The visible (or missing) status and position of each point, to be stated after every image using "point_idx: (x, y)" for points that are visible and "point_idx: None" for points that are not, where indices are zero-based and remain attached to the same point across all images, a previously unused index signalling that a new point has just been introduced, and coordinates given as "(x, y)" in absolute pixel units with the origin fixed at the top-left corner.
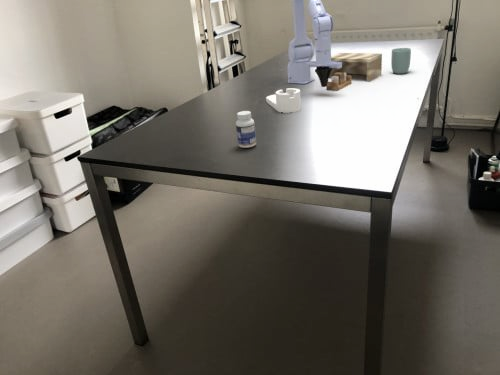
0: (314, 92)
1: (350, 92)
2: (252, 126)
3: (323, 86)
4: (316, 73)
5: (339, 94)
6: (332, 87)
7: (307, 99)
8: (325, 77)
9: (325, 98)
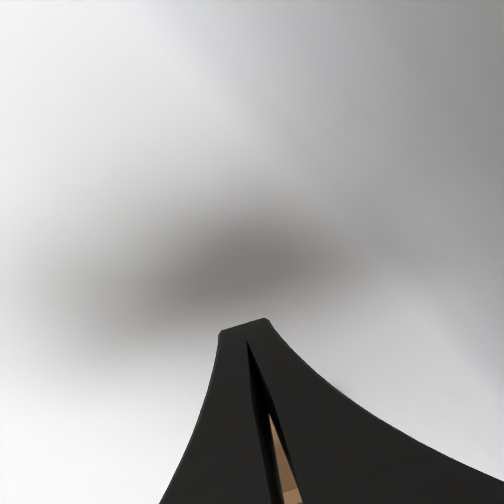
0: (387, 288)
1: (72, 466)
2: None
3: (231, 329)
4: (427, 446)
5: (99, 376)
6: (273, 439)
7: (255, 5)
8: (189, 459)
9: (84, 185)
